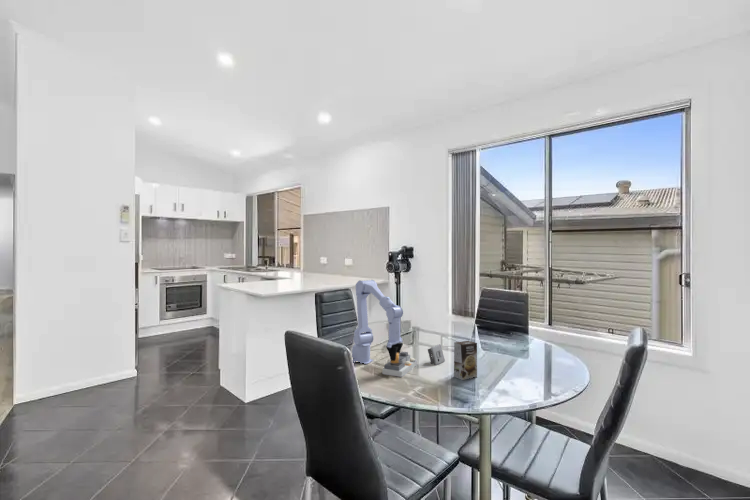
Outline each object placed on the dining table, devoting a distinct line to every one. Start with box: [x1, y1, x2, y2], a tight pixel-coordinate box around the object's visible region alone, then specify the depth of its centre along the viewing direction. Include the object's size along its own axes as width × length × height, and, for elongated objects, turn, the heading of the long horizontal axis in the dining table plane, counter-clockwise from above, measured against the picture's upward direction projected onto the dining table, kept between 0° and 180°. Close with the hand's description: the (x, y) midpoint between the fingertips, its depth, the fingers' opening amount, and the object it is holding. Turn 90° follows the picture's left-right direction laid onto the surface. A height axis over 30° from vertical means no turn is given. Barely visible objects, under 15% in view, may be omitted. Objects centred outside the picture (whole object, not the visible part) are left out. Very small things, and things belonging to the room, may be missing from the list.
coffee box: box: [453, 340, 478, 381], centre depth 172 cm, size 9×6×16 cm
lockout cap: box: [390, 352, 400, 363], centre depth 178 cm, size 4×4×5 cm
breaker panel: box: [381, 354, 418, 378], centre depth 184 cm, size 10×22×5 cm, turn 155°
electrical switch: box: [427, 344, 446, 366], centre depth 196 cm, size 9×5×9 cm, turn 141°
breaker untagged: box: [399, 351, 409, 357], centre depth 191 cm, size 3×3×2 cm
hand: (394, 359), depth 178 cm, fingers closed on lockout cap, 4 cm apart
